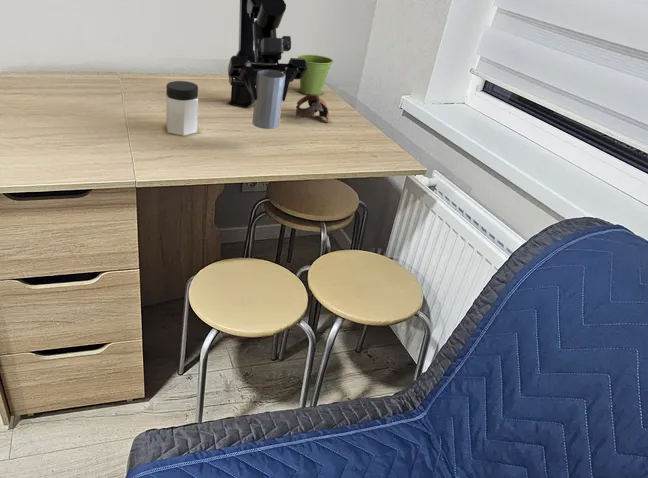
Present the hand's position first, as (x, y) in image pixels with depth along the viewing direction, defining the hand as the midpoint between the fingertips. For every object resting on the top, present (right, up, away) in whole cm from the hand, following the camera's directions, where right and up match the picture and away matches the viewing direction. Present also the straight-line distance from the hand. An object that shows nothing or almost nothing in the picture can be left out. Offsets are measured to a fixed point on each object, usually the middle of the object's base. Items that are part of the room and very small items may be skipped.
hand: (269, 99), depth 125 cm
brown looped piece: (+14, +2, +31) cm, 34 cm away
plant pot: (+17, +17, +53) cm, 58 cm away
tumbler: (-1, -5, +5) cm, 7 cm away
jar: (-23, -4, +15) cm, 28 cm away
